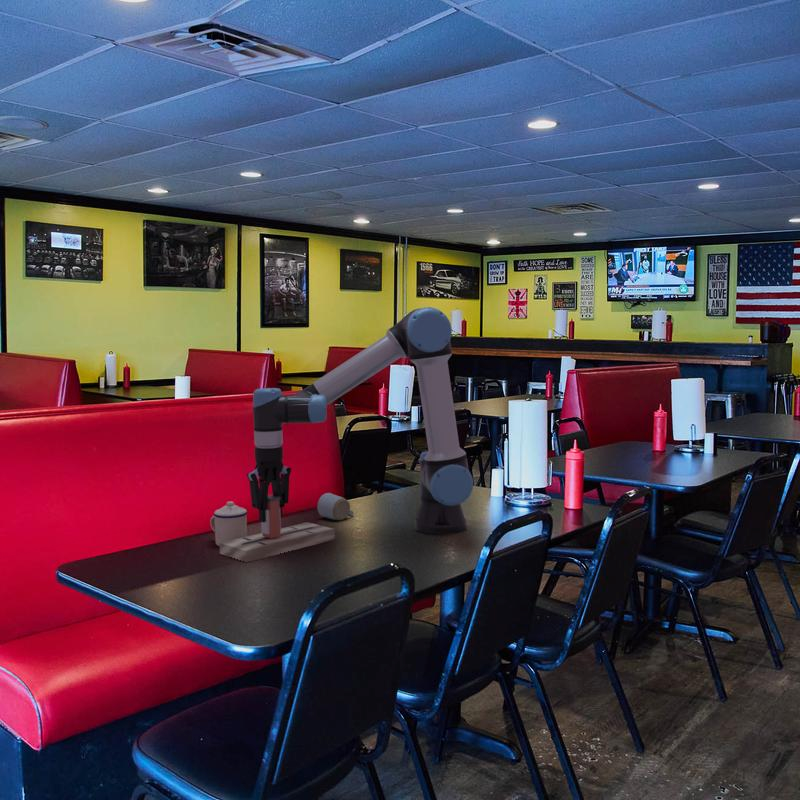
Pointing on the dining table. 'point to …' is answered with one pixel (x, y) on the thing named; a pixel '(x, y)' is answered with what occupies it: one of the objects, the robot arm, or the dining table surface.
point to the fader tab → (273, 516)
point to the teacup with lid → (229, 523)
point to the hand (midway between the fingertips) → (271, 531)
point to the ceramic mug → (333, 507)
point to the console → (276, 542)
